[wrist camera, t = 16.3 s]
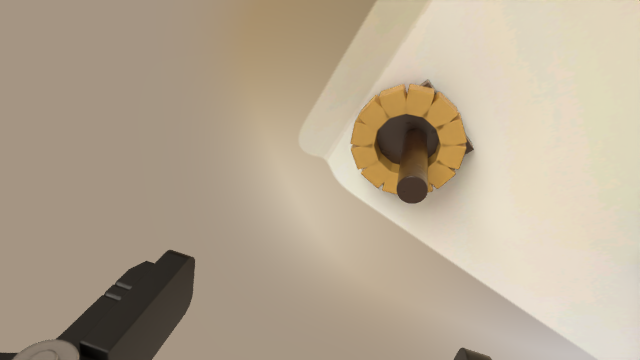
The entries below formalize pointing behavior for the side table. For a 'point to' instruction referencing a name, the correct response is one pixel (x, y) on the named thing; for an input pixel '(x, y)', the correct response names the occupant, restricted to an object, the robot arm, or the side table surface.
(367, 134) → the ring
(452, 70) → the side table surface
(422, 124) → the post
